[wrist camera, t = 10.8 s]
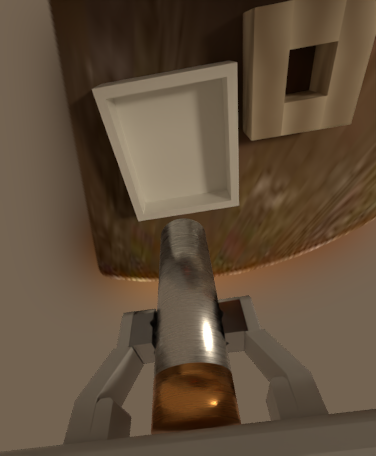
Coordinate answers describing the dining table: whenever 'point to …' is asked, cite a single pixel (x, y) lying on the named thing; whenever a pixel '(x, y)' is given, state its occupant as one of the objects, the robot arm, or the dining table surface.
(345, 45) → the block
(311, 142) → the dining table surface
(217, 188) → the tray
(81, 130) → the dining table surface
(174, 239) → the pin
